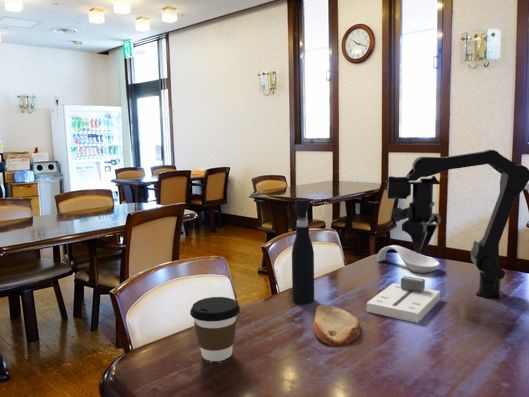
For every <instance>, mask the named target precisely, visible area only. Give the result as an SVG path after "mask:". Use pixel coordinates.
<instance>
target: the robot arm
mask: <svg viewBox="0 0 529 397" xmlns="http://www.w3.org/2000/svg"><path fill="white" fill-rule="evenodd" d="M484 165H488V166H490V167H491V168H492V169H493V170H495V171H496V172H497V173H499V174H500V180H499V194H498V195H497V196H498V197H497V199H496V202H495V205H494V207H493V209H492V213H491V216H490V218H489V221H488V224H487V226H486V229H485V231H484V234H483V237H482V239H480V240H479V241H476V240H474V241H473V244H472V248H471V250H470V251H469V254H470V260H471V262H472V263H473V265H474V266H475V267H476V268H477V269H478V271H479V280H478V283H479V284H478V285H479V286H478V289H477V291H476V292H475V296H479V297H483V298H491V299H495V300H496V299H497V300H500V299H501V298H502V297H503V294H504V291H502V290H501V288H502V287H501V286H502V280H503V279H504V277H505V276H506V273H507V272H506V271H505V270H504V269H503V268H502V267H500V266H499V264H498V263H499V257H500V242H501V239H502V237H503V234H504V231H505V229H506V226H507V223H508V220H509V218H510V215H511V212H512V209H513V207H514V206H515V205H514V204H515V203H516V202H515V201H516V199H517V197H518V196H519V195H520V194H521V193H522V192H523V191H524V189H525V188H526V186H527V185H528V183H529V168H528V167H527V166H525V165H523V164H516V163H515V162H513V161H512V160H510V159H508V158H507V157H505V156H504V155H502V154H501V153H499V151H497V150H495V149H486V150H483V151H476V152H470V153H463V154H455V155H450V156H419V157H416V158H415V159H414V160H413V162H412V165H411V166H412V168H411V169H410V171H409V172H408V173H407V174H406V175H405V176H394V175H393V176H392V175H391V176H389V175H388V176H387V186H386V198H387V200H407V199H408V197H409V196H411V194H412V199H411V200H412V201H411V202H409V205H408V206H407V207H404V208H401V206H399V207H396V208H393V211H392V213H391V214H392V215H391V217H392V218H393V219H394V221H395V223H396V222H397V223H398V222H400V221H402V220H405V221H403V223H402V224H401V231H402V232H404V233H406V234H408V235H409V236H410V238H411V242H412V245H413V246H412V247H413V249H414V252H416V253H418V254H420V252H421V249H422V248H424V249H426V248H428V246H429V245H430V242H431V240H432V238H433V236H434V234H435V232H436V230H437V228H438V227H439V224H440V223H441V222H442V221H441V220H442V219H441V218H442V217H441V216H440V214H439V213H437V212H435V213H434V212H433V207H434V206H435V202H434V201H433V196H434V185H441V182H440V181H439V180H438V179H437V177H436V176H435V175H437V174H440V173H443V172H445V171H448V170H455V169H456V170H457V169H464V168H469V167H476V166H484ZM429 177H430V178H429ZM419 179H420V180H419ZM418 180H419V181H418ZM406 219H407V220H406ZM434 222H435V223H434Z"/></svg>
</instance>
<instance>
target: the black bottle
mask: <svg viewBox="0 0 529 397" xmlns="http://www.w3.org/2000/svg"><path fill="white" fill-rule="evenodd" d="M294 205H295V206H294V207H295V212H296V213H297V220H296V226H295V238H294V242H293V244H292V250H291V287H292V292H291V294H292V296H291V297H292V302H293V303H295V304H299V305H311V304H312V303H314V302H315V252H314V247H313V242H312V240H311V236H310V225H309V221H308V215H307V214H308V212H310V200H309V199H306V198H298V199H295V204H294Z"/></svg>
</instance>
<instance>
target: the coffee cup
mask: <svg viewBox="0 0 529 397" xmlns="http://www.w3.org/2000/svg"><path fill="white" fill-rule="evenodd" d="M240 310H241V306H240V305H239V303H238V302H237V301H236V300H235V299H233V298H230V297H225V296H210V297H205V298H202V299H200V300H197V301H196V302H194V303H193V304H192V307H191V308H190V311H189V313H190V316H191V318H192V319H193V320H194V321H193V324H194V327H195V328H194V330H195V334H196V339H197V342H198V346H199V348H200V353H201V356H202V357H203V360H205V359H206V360H210V361H221V360H225V359H227V358H229V357H230V358H231V357H232V353H233V346H234V344H235V337H236V328H237V321H238V317H237V316H238V315H239V314H240ZM230 358H229V359H230ZM206 360H205V361H206Z"/></svg>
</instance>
